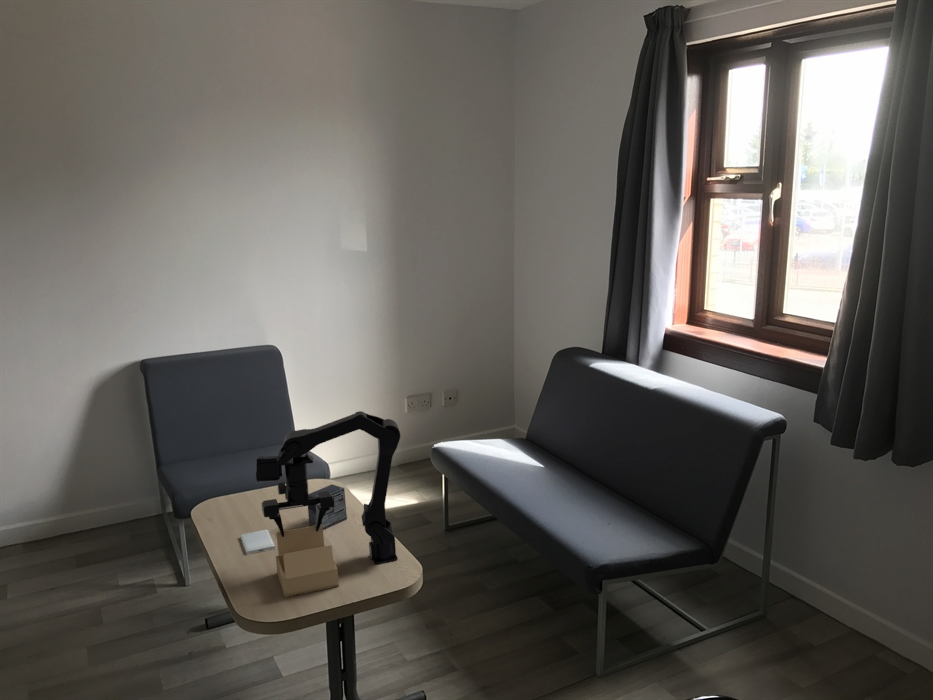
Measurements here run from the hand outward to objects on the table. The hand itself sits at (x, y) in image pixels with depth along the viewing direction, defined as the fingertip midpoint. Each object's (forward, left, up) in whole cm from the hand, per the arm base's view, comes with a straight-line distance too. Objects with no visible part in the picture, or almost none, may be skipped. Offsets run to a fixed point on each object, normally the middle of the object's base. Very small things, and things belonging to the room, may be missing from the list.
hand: (300, 533), depth 212 cm
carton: (0, +7, -10) cm, 12 cm away
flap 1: (0, 0, -2) cm, 2 cm away
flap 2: (0, +13, -2) cm, 13 cm away
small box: (-12, -27, -10) cm, 31 cm away
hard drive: (+10, -21, -11) cm, 25 cm away
